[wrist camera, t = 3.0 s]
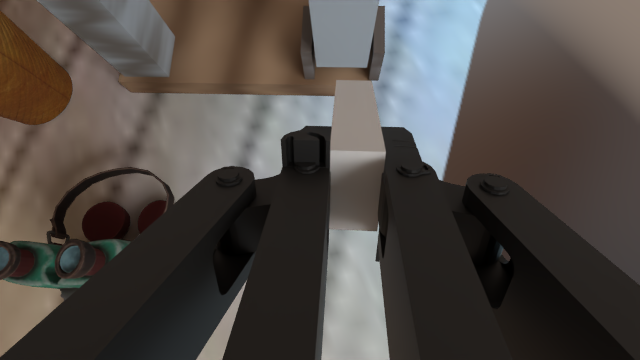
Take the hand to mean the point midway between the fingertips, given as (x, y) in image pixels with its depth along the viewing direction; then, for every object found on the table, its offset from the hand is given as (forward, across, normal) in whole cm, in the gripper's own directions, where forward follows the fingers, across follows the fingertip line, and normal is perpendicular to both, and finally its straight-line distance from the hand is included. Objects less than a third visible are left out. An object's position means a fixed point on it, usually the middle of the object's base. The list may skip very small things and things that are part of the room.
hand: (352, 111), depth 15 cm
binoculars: (+7, -18, -14) cm, 24 cm away
